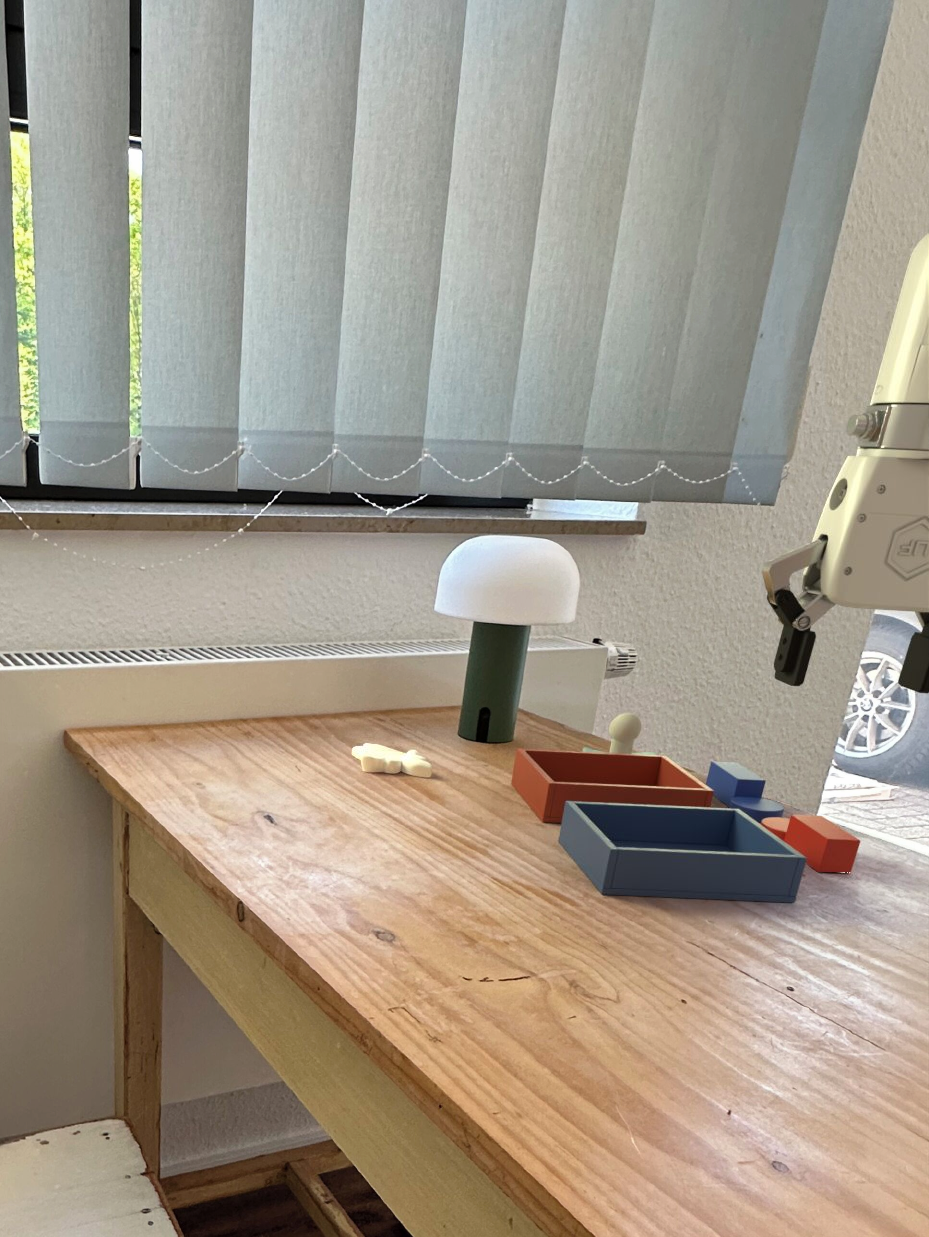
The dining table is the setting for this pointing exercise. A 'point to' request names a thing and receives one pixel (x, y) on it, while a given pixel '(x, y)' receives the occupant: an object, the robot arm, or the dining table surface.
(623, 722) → the pacifier
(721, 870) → the blue bin
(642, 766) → the red bin
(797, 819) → the red disc paddle
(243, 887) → the dining table surface
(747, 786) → the blue disc paddle
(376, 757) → the acanthus leaf ornament
